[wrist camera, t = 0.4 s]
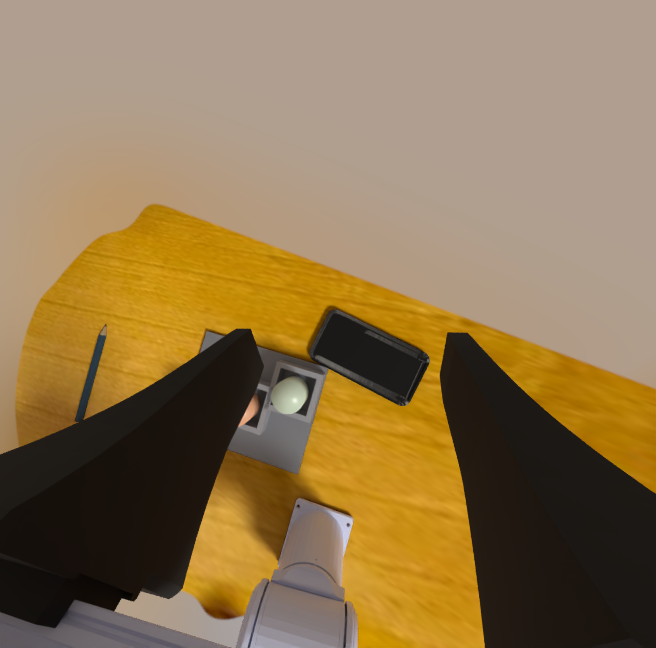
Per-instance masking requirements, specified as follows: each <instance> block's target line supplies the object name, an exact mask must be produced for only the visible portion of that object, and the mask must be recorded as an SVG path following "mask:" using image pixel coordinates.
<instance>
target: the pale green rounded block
mask: <svg viewBox="0 0 656 648" xmlns="http://www.w3.org/2000/svg"><path fill="white" fill-rule="evenodd" d="M308 395H309V389H308V386H307V384H306V382H305V381H304V380H303V379H302V378H300V377H297V376H291V377H288V378H286V379H284V380H283V381H281V382H279V383H278V384H277V385H276V386H275V387H274V388H273V391H272V394H271V400H272V403H273V406H274V407H275V408H276V409H277V410H278V411H279V412H281V413H283V414H293V413H295V412H297V411H298V410H299V409H300V408H301V407H302V405H303V404H304V403H305V401H306V400H307V398H308Z"/></svg>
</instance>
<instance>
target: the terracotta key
mask: <svg viewBox="0 0 656 648" xmlns="http://www.w3.org/2000/svg"><path fill="white" fill-rule="evenodd" d="M259 408H260V400H259V397H258V395H257V394H256V393H255V394H254V396H253V398H252V400H251V402H250V404H249V406H248V408H247V410H246V412H245V414H244V416H243V418H242V420H241V422H240V424H239V426H238V427H240V426H242V425H244V424H245V423H246V422H247V421H249V420H250V419H251V418H252V417H254V416H255V415H256V414H257V412H258V411H259Z"/></svg>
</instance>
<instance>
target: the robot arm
mask: <svg viewBox="0 0 656 648" xmlns="http://www.w3.org/2000/svg"><path fill="white" fill-rule="evenodd" d="M263 368H264V364H263V362H262V359H261V356H260V353H259V351H258V348H257V345H256V342H255V339H254V337H253V334H252V331H251V329H235V330H234V331H232V332H230V333H229V334H227V335H226V336H224V337H223V338H221V339H220V340H218V341H217V342H215V343H214V344H213V345H211V346H210V347H208V348H207V349H205V350H204V351H202V352H201V353H200V354H198V355H197V356H195V357H194V358H192V359H191V360H189V361H188V362H187V363H185V364H183V365H182V366H180V367H179V368H177V369H176V370H174V371H173V372H171V373H170V374H168V375H166V376H165V377H163V378H162V379H160V380H159V381H157V382H155V383H154V384H152V385H150V386H149V387H147V388H145V389H143V390H142V391H140V392H138V393H136V394H134V395H133V396H131V397H129V398H127V399H125V400H124V401H122V402H120V403H118V404H116V405H114V406H112V407H110V408H108V409H106V410H104V411H101V412H99V413H97V414H95V415H93V416H91V417H89V418H87V419H85V420H83V421H81V422H79V423H76V424H74V425H72V426H70V427H67V428H65V429H63V430H61V431H58V432H56V433H53V434H51V435H49V436H46V437H44V438H42V439H39V440H37V441H34V442H32V443H29V444H27V445H24V446H22V447H19V448H16V449H14V450H11V451H8V452H6V453H3V454H0V648H230V647H227V646H223V645H220V644H217V643H214V642H211V641H208V640H204V639H201V638H198V637H195V636H191V635H188V634H185V633H182V632H178V631H175V630H172V629H169V628H165V627H162V626H159V625H156V624H153V623H149V622H146V621H143V620H140V619H137V618H133V617H130V616H127V615H124V614H120V613H117V612H114V611H115V609H116V607H117V605H118V604H119V602H120V600H121V598H123V599H126V600H130V601H135V600H136V599H137V597H138V595H139V593H140V591H143V592H146V593H149V594H153V595H156V596H160V597H163V598H167V599H170V598H172V597H173V596H175V595H176V594H177V593H178V592H179V591H180V590H181V589H182V588H183V585H184V581H185V577H186V573H187V570H188V566H189V562H190V559H191V555H192V552H193V548H194V544H195V541H196V537H197V534H198V531H199V528H200V525H201V521H202V518H203V515H204V512H205V509H206V506H207V503H208V500H209V497H210V494H211V491H212V488H213V486H214V483H215V480H216V477H217V474H218V472H219V469H220V467H221V464H222V461H223V459H224V456H225V453H226V451H227V449H228V447H229V444H230V442H231V440H232V438H233V436H234V434H235V432H236V430H237V428H238V426H239V424H240V422H241V420H242V418H243V416H244V414H245V412H246V410H247V408H248V406H249V404H250V402H251V400H252V398H253V396H254V394H255V391H256V389H257V387H258V384H259V381H260V378H261V375H262V372H263ZM440 382H441V390H442V398H443V404H444V408H445V412H446V416H447V420H448V424H449V428H450V432H451V436H452V439H453V443H454V447H455V451H456V455H457V459H458V463H459V467H460V471H461V476H462V481H463V486H464V492H465V499H466V505H467V511H468V518H469V524H470V531H471V538H472V545H473V552H474V560H475V567H476V575H477V583H478V591H479V598H480V607H481V616H482V625H483V633H484V642H485V648H656V494H655V493H654V492H652V491H651V490H649V489H648V488H646V487H645V486H644V485H642V484H641V483H639V482H638V481H637V480H635V479H634V478H632V477H631V476H630V475H628V474H627V473H625V472H624V471H623V470H621V469H620V468H618V467H617V466H616V465H614V464H613V463H611V462H610V461H609V460H607V459H606V458H604V457H603V456H602V455H600V454H599V453H598V452H596V451H595V450H594V449H592V448H591V447H590V446H589V445H587V444H586V443H585V442H583V441H582V440H581V439H580V438H578V437H577V436H576V435H575V434H573V433H572V432H571V431H570V430H568V429H567V428H566V427H565V426H563V425H562V424H561V423H560V422H558V421H557V420H556V419H555V418H554V417H552V416H551V415H550V414H549V413H548V412H547V411H545V410H544V409H543V408H542V407H541V406H540V405H539V404H538V403H536V402H535V401H534V400H533V399H532V398H531V397H530V396H529V395H528V394H526V393H525V392H524V391H523V390H522V389H521V388H520V387H519V386H518V385H517V384H516V383H515V382H514V381H513V380H512V379H511V378H510V377H509V376H508V375H507V374H506V373H505V372H504V371H503V370H502V369H501V368H500V367H499V366H498V365H497V364H496V363H495V362H494V361H493V360H492V359H491V357H490V356H489V355H488V354H487V353H486V352H485V351H484V350H483V349H482V348H481V347H480V346H479V344H478V343H477V342H476V341H475V340H474V339H473V338H472V337H471V336H470V335H469V334H468V333H451V332H448V333H447V338H446V344H445V349H444V355H443V360H442V366H441V371H440ZM297 505H300V507H298V506H297ZM347 523H349V524H350V525H347ZM352 524H353V518H352V517H351V516H349V515H346V514H344V513H341V512H338V511H335V510H333V509H330V508H327V507H324V506H322V505H319V504H316V503H313V502H310V501H308V500H305V499H302V498H298V499H297V500H296V503H295V506H294V510H293V513H292V517H291V520H290V524H289V527H288V531H287V534H286V538H285V541H284V545H283V548H282V552H281V555H280V559H279V562H278V566H279V568H278V570H276V569H275V570H274V573H273V576H272V579H271V582H269V579H266V578H264V579H262V581H261V582H260V583H259V584H257V585H256V587H255V588H254V591H253V593H252V595H251V598H250V601H249V604H248V606H247V609H246V613H245V616H244V619H243V622H242V626H241V629H240V633H239V637H238V641H237V645H236V648H357V638H358V623H357V614H356V611H355V609H354V608H353V604H352V603H351V602H349V601H346V602H345V604H344V593H345V589H344V588H342V569H343V556H344V553H345V549H346V545H347V542H348V538H349V535H350V531H351V528H352Z"/></svg>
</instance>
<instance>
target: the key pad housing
mask: <svg viewBox="0 0 656 648" xmlns="http://www.w3.org/2000/svg"><path fill="white" fill-rule="evenodd" d="M223 337H224V336H223V335H219V334H216V333H213V332H210V331H206V335H205V338H204V341H203V345H202V348H201V351H200V353H201V352H202V351H204V350H205V349H207V348H208V347H210V346H211V345H213V344H214V343H215V342H217V341H218V340H220V339H221V338H223ZM257 348H258V351H259V353H260V356H261V359H262V362H263V364H264V368H263V372H262V375H261V378H260V381H259V384H258V387H257V389H256V391H255V393H256V394H257V395H258V397H259V400H260V408H259V411H258V412H257V414H256V415H255V416H254V417H252V418H251V419H250V420H249V421H247V422H246V423H245V424H244V425H242V426H240V427H238V428H237V430H236V432H235V434H234V436H233V438H232V440H231V442H230V444H229V447H228V449H227V450H230V451H233V452H236V453H238V454H241V455H244V456H247V457H250V458H253V459H255V460H258V461H261V462H264V463H267V464H270V465H272V466H275V467H278V468H281V469H284V470H287V471H289V472H292V473H295V474H298V472H299V469H300V465H301V462H302V458H303V455H304V451H305V448H306V444H307V441H308V437H309V434H310V430H311V427H312V423H313V420H314V416H315V413H316V409H317V406H318V403H319V399H320V396H321V392H322V389H323V385H324V382H325V378H326V375H327V371H328V368H327V367H325V366H321V365H318V364H315V363H311V362H308V361H305V360H302V359H298V358H295V357H292V356H288V355H285V354H282V353H279V352H275V351H272V350H269V349H265V348H262V347H259V346H257ZM291 376H297V377H300V378H302V379H303V380H304V381H305V382H306V384H307V386H308V389H309V395H308V398H307V400H306V401H305V403H304V404H303V405H302V407H301V408H300V409H299V410H298V411H297V412H295V413H293V414H283V413H281V412H279V411H278V410H277V409H276V408H275V407H274V406H273V403H272V400H271V394H272V391H273V388H274V387H275V386H276V385H277V384H278V383H279V382H281V381H283V380H284V379H286V378H288V377H291Z"/></svg>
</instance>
